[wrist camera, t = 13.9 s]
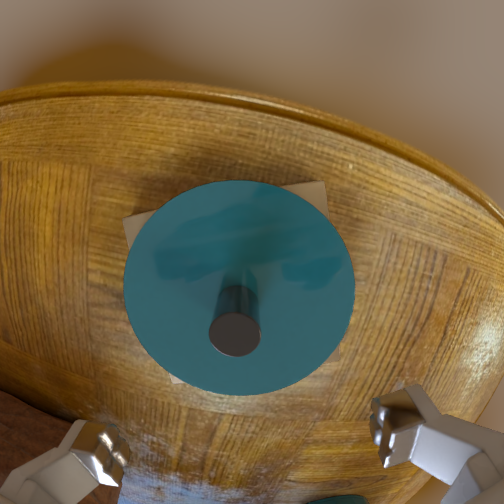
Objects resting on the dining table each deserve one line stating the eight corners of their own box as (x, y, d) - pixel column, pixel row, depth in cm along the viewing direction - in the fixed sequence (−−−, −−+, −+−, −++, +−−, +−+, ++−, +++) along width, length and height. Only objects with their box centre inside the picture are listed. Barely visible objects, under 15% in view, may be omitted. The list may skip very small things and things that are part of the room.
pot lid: (336, 163, 16) (367, 158, 11) (351, 365, 19) (373, 408, 14) (107, 206, 16) (65, 217, 12) (165, 392, 19) (149, 436, 15)
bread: (136, 488, 26) (115, 561, 14) (-15, 421, 25) (-49, 463, 13) (115, 424, 22) (71, 521, 10) (-47, 350, 21) (-96, 392, 9)
